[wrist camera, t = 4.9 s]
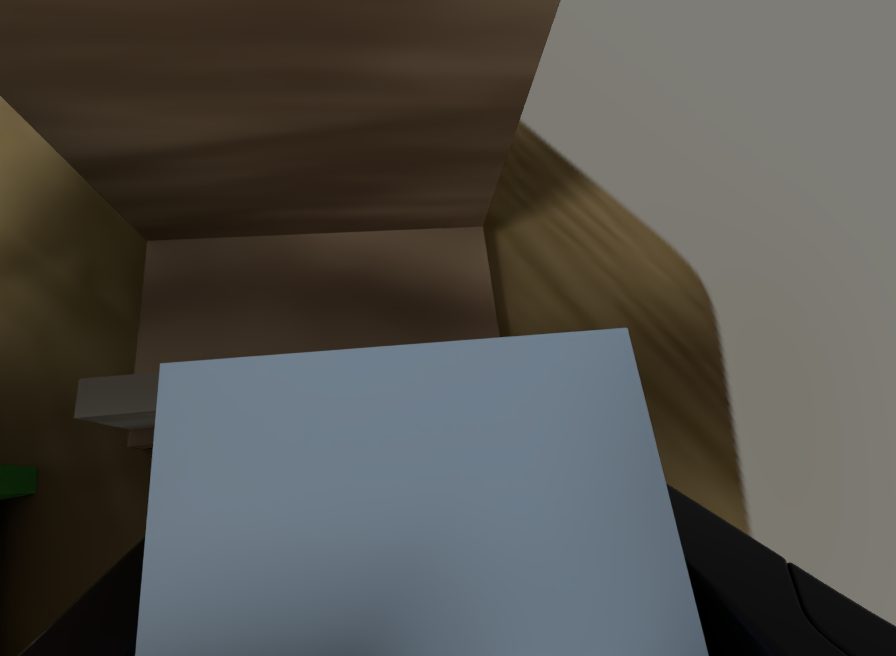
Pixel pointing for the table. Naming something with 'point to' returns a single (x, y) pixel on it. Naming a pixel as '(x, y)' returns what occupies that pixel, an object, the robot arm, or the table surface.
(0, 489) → the hardback book
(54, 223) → the table surface
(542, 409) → the blue-grey rectangular block
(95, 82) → the wooden display stand
